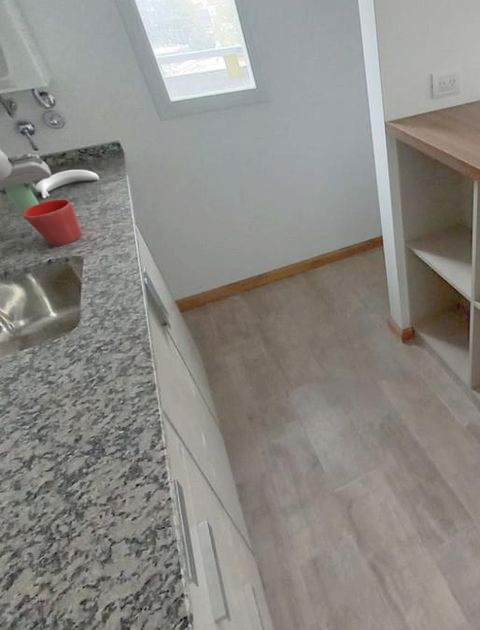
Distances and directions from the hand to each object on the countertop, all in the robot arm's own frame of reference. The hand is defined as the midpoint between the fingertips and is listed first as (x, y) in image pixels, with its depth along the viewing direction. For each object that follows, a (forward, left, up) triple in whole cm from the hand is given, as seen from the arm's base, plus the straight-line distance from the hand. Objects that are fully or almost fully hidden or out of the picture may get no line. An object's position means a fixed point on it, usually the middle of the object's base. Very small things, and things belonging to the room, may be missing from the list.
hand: (17, 189), depth 122 cm
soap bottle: (0, -1, -8) cm, 8 cm away
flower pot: (+6, -12, -13) cm, 19 cm away
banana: (+5, +39, -13) cm, 42 cm away
